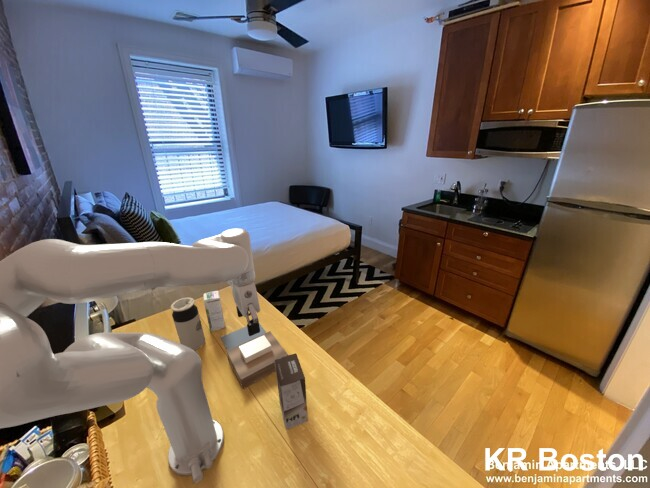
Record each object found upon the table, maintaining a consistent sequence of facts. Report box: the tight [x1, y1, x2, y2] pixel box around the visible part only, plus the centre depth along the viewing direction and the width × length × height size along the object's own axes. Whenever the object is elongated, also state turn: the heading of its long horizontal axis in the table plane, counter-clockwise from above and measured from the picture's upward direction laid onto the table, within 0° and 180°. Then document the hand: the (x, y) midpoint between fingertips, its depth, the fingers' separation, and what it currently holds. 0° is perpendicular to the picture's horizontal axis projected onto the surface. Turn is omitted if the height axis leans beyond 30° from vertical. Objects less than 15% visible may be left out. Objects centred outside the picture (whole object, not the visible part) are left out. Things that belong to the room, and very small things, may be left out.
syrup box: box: [203, 290, 226, 332], centre depth 106 cm, size 6×6×14 cm
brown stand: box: [226, 330, 289, 390], centre depth 91 cm, size 14×16×4 cm
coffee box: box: [274, 353, 309, 430], centre depth 73 cm, size 9×6×16 cm
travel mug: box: [170, 297, 206, 351], centre depth 97 cm, size 8×8×18 cm
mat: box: [220, 322, 267, 351], centre depth 102 cm, size 12×15×1 cm
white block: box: [239, 335, 272, 363], centre depth 91 cm, size 6×9×2 cm, turn 126°
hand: (248, 324), depth 80 cm, fingers open, 9 cm apart
